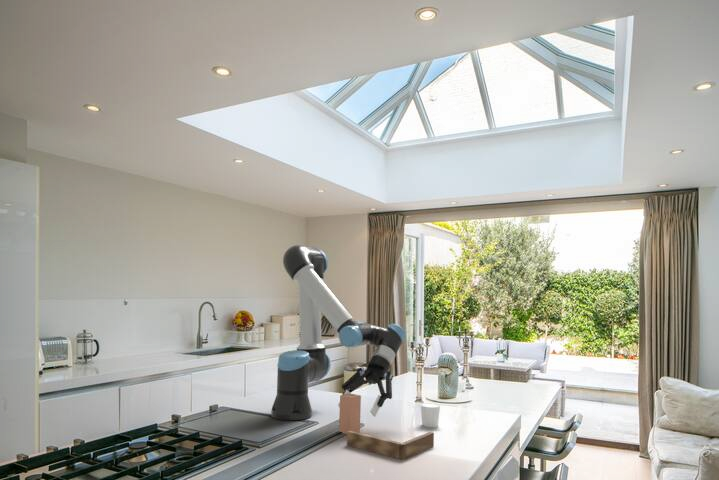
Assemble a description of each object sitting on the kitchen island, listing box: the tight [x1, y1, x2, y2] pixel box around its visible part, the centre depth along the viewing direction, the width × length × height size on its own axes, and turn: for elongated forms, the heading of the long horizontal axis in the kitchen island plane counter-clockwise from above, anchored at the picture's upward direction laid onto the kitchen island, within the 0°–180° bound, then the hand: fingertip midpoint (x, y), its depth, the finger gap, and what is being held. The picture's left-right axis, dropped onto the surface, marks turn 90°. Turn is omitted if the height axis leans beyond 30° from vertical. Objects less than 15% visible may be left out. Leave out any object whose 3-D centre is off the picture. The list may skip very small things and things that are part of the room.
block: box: [338, 393, 362, 435], centre depth 173 cm, size 5×5×12 cm
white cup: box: [420, 403, 441, 428], centre depth 184 cm, size 7×7×7 cm
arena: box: [346, 431, 435, 461], centre depth 158 cm, size 20×18×4 cm
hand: (356, 411), depth 173 cm, fingers open, 13 cm apart
